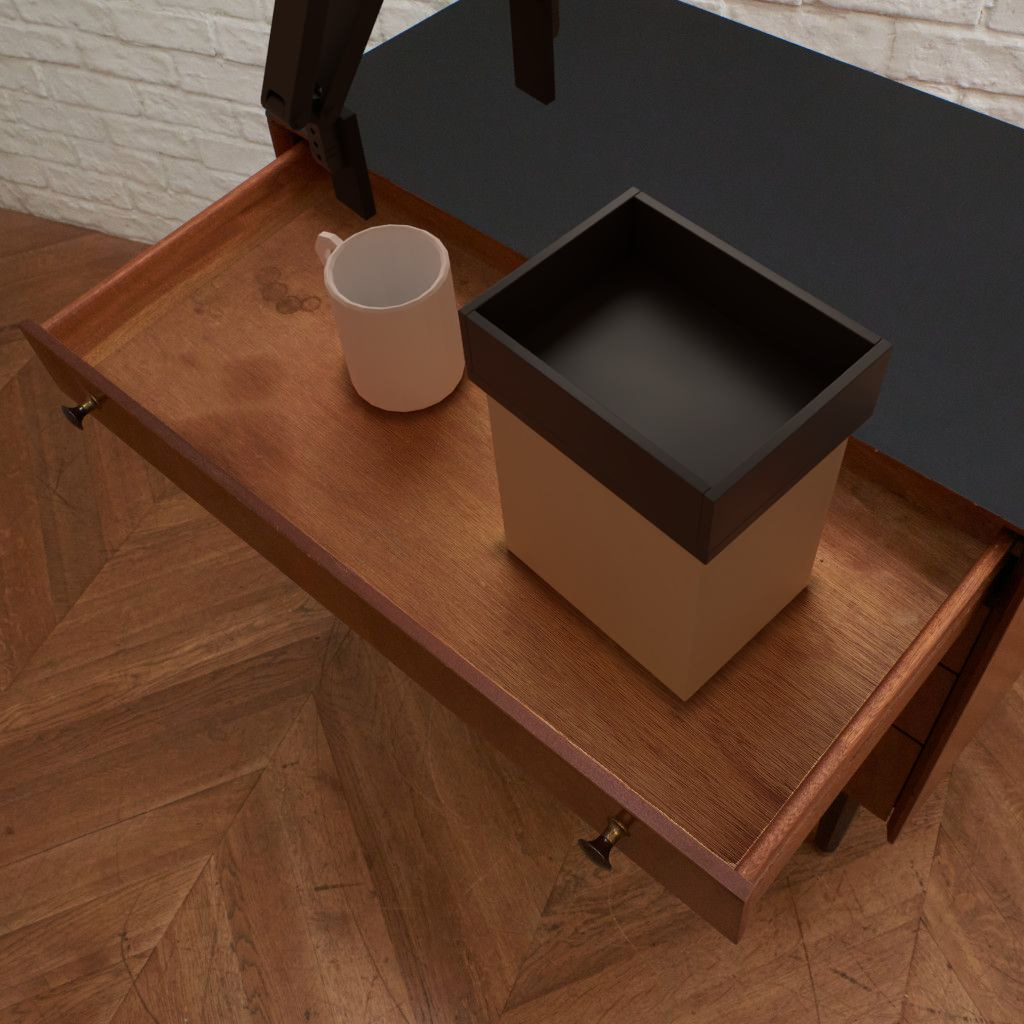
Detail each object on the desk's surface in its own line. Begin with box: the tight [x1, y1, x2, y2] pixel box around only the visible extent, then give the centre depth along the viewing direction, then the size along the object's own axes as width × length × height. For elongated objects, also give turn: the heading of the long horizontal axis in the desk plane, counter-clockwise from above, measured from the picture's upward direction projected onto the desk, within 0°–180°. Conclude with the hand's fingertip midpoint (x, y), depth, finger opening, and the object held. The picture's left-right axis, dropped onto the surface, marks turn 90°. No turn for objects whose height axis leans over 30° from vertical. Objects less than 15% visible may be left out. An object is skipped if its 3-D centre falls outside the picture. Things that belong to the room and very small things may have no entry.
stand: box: [485, 393, 850, 703], centre depth 64 cm, size 15×11×16 cm
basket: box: [457, 186, 894, 565], centre depth 55 cm, size 16×12×5 cm
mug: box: [313, 224, 466, 413], centre depth 78 cm, size 8×12×10 cm
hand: (449, 148), depth 66 cm, fingers open, 13 cm apart
